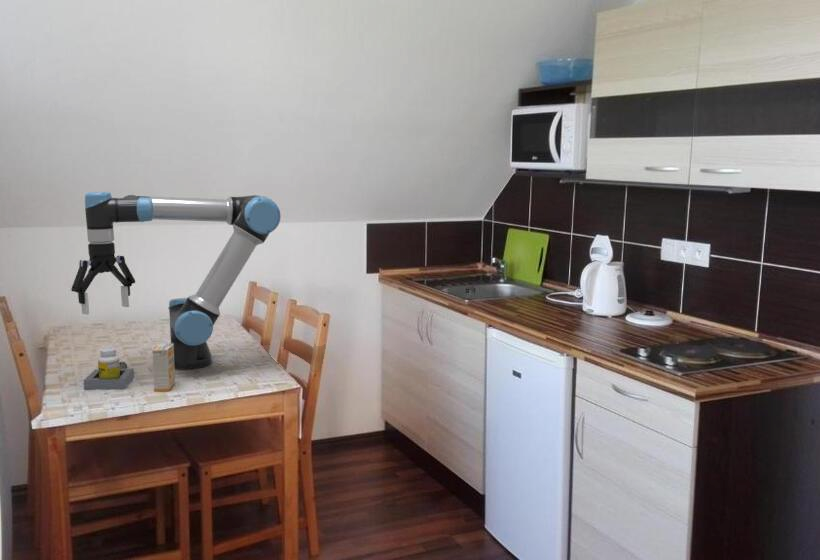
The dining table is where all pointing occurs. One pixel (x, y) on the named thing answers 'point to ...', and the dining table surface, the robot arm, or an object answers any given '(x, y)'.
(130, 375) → the low gray tray
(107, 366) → the pill bottle
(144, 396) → the dining table surface
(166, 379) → the supplement box
